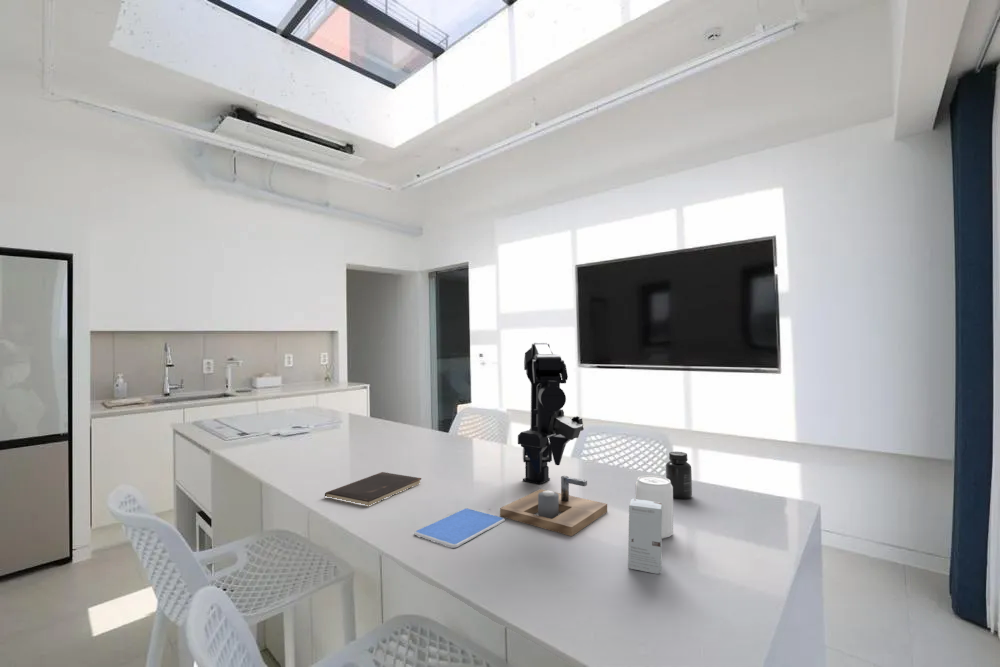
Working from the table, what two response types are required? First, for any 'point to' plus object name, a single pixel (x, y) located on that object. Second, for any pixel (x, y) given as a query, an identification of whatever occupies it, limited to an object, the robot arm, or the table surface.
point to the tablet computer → (459, 527)
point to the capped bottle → (548, 504)
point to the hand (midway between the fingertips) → (548, 468)
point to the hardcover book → (373, 488)
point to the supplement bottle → (679, 475)
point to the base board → (568, 522)
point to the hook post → (565, 486)
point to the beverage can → (658, 498)
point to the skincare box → (645, 536)
